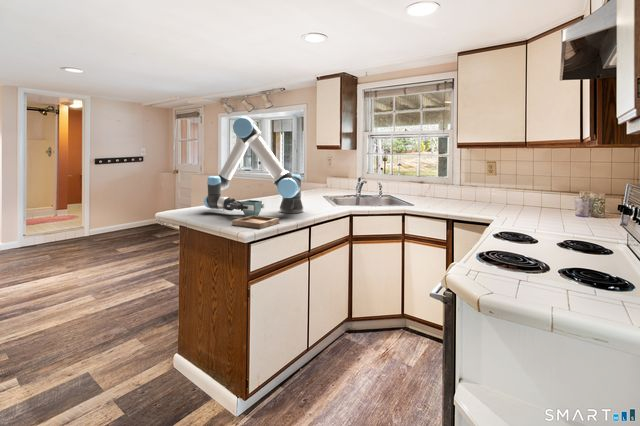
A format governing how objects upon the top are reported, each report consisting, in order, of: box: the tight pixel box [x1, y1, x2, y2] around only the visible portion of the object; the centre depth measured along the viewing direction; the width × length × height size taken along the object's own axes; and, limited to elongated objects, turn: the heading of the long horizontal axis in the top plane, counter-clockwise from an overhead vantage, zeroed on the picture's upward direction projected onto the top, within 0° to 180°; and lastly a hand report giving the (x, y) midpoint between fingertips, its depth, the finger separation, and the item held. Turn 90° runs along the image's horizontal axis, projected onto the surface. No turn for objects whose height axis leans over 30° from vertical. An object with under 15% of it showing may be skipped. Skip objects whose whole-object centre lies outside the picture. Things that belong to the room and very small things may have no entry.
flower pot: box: [242, 199, 263, 217], centre depth 200 cm, size 9×9×9 cm
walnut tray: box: [231, 215, 280, 230], centre depth 181 cm, size 17×17×2 cm
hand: (258, 206), depth 197 cm, fingers closed on flower pot, 9 cm apart
